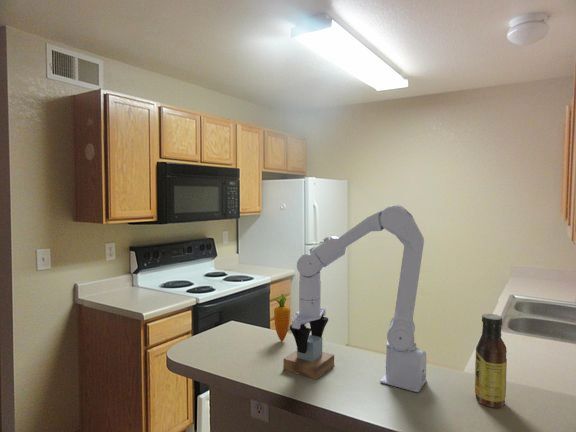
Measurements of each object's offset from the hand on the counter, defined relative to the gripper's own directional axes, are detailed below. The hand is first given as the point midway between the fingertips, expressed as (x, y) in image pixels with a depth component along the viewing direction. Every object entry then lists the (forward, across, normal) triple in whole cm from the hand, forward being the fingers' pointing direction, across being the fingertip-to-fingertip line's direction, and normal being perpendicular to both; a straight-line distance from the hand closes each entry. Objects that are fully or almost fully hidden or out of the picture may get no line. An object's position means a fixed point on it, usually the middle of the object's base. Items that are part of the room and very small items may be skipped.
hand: (309, 347), depth 108 cm
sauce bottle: (+6, -7, +43) cm, 44 cm away
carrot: (+6, -12, -17) cm, 22 cm away
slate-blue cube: (+2, 0, 0) cm, 2 cm away
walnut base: (+5, 0, 0) cm, 5 cm away
